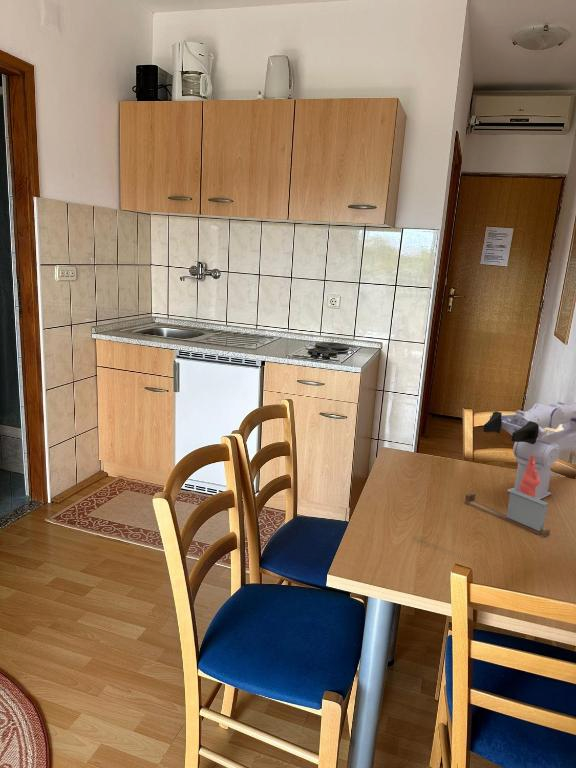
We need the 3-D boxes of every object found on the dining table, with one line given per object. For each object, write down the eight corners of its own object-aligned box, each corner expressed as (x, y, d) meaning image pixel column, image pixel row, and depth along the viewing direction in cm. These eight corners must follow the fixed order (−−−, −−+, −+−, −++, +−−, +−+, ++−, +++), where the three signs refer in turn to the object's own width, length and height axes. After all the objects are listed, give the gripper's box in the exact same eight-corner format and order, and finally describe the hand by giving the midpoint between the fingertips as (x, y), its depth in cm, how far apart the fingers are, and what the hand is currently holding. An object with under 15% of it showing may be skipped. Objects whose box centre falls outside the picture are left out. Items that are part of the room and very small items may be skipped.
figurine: (537, 516, 138) (546, 460, 134) (515, 513, 139) (524, 458, 135) (532, 507, 143) (541, 453, 139) (511, 505, 144) (520, 451, 140)
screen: (509, 515, 136) (513, 489, 134) (543, 529, 129) (548, 503, 128) (505, 517, 134) (509, 491, 133) (539, 531, 128) (544, 505, 126)
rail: (471, 500, 145) (472, 492, 144) (549, 534, 129) (551, 525, 128) (464, 503, 143) (465, 494, 142) (543, 537, 127) (544, 528, 126)
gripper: (504, 400, 147) (475, 409, 139) (557, 415, 136) (529, 425, 128) (501, 425, 149) (472, 435, 141) (553, 441, 138) (524, 453, 130)
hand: (498, 432), depth 134 cm, fingers open, 7 cm apart
